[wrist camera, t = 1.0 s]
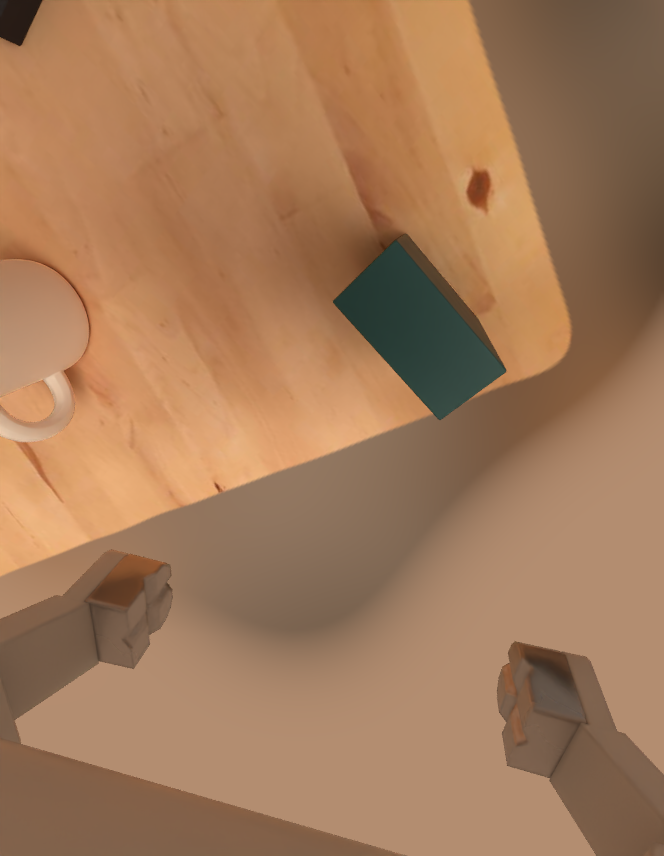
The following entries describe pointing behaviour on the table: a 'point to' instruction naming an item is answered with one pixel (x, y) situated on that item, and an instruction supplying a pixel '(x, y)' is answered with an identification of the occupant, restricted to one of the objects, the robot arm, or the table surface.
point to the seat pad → (16, 18)
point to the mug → (38, 342)
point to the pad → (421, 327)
